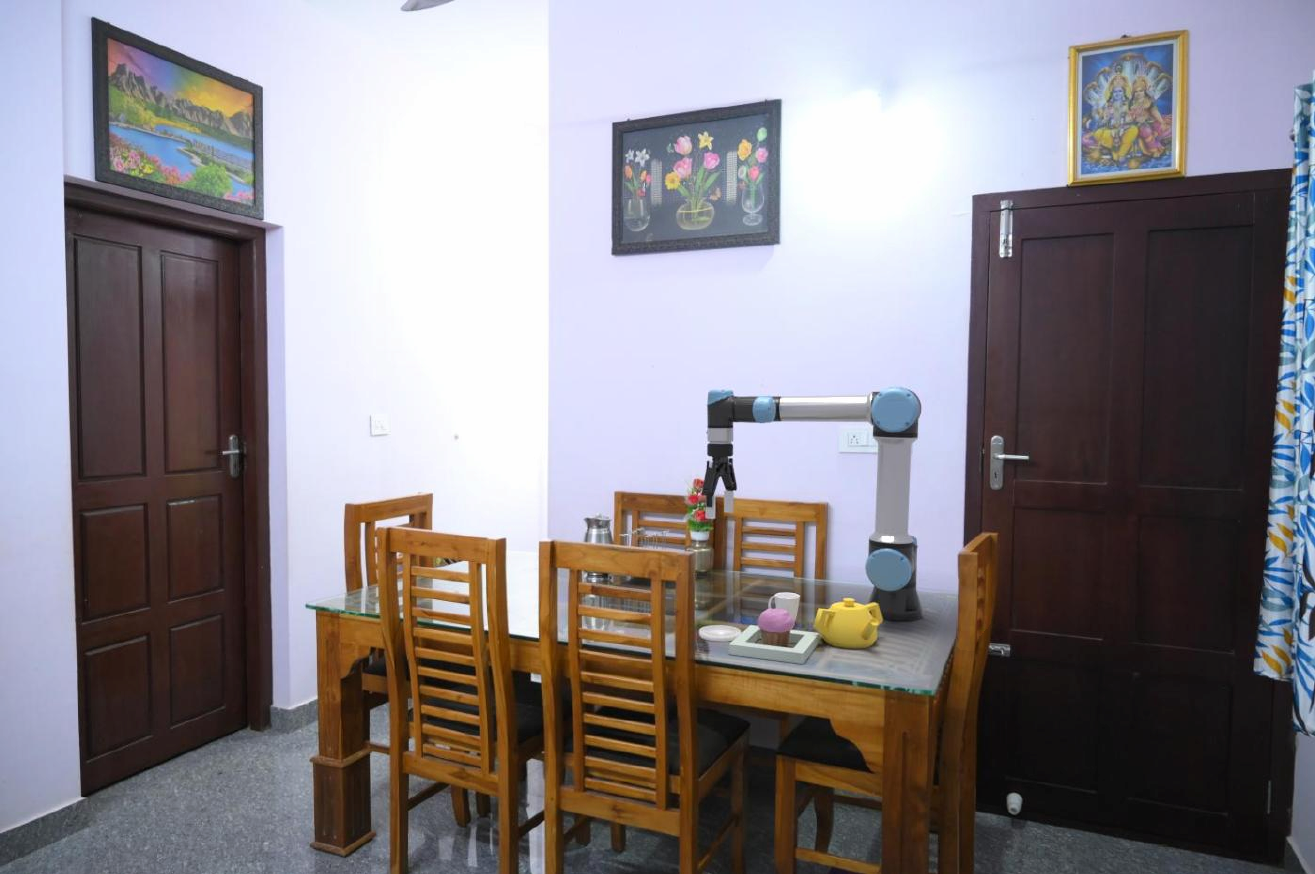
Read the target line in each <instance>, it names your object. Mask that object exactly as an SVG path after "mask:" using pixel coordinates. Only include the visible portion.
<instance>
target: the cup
mask: <svg viewBox="0 0 1315 874" xmlns="http://www.w3.org/2000/svg"><path fill="white" fill-rule="evenodd" d="M773 599H774V603H775V609H776V608H778V609H784V610H786V611H788V612H789V614H790V616H791V617H792V618H793V620H794V626H795V625H796V623H795V621H796V620H797V617H798V616H797V615H798V612H799V605H800V601H801V600H800V599H801V595H800V594H798V593H795V592H794V593H793V592H786V591H785V592H777V593H775V594H774V595H773V596H770V598H769V599H768V604H767V605H768V606H767V607H768V608H767V609H772V602H773Z"/></svg>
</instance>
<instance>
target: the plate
mask: <svg viewBox="0 0 1315 874" xmlns="http://www.w3.org/2000/svg"><path fill="white" fill-rule="evenodd" d="M741 633H742V630H741V629H740V628H739V627H736V626H731V625H724V624H714V625H706V626H702V627H700V628H699V629H698V637H699V638H701V639H703V640H706V641H710V642H716V643H717V642H718V643H719V642H720V643H723V642H724V643H727V642H732V641H733V640H734V639H735V638H737V637H738V636H739V635H740V634H741Z"/></svg>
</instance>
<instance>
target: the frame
mask: <svg viewBox="0 0 1315 874" xmlns="http://www.w3.org/2000/svg"><path fill="white" fill-rule="evenodd" d="M758 640H762V637H761V632H760V628H758V625H752V624H750V625H749V626H747V628H746V629H744V630H743V631H741V634H740V635H739V636H738V637H737V638H735V639H734V640H733V641H730V642H729V644H728V655H731V656H737V657H738V656H739V657H746V658H754V659H761V660H767V661H768V660H770V661H777V662H782V663H783V662H785V663H792V664H799V665H804V663H805V662H806V660H808V658H809V657H810V656H811V654H812V653H813V652H814V651H815V649H816V648H817V646H818V645H819V644H820V632H812V631H804V630H796V629H791V630H790V636H789V642H788V644H795V646H794V647H779V646H771V645H764V643H763V644H762V643H756V642H757V641H758Z"/></svg>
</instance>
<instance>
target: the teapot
mask: <svg viewBox="0 0 1315 874" xmlns="http://www.w3.org/2000/svg"><path fill="white" fill-rule="evenodd" d="M855 600H856V599H855V598H851V597H844V598H843V599H842V601H838V602H835V603H833V604H831V605H830V607H829V608H828V609H826V608H818V610H817V613H816V617H815V620H814V624H813V626H812V627H813V628H814V629H815V630H817V632H818V633H819V636H821V638H822V639H823V641H825V643H827V644H828V645H830V646H832V647H835V648H836V647H838V648H840V649H841V648H842V649H851V650H852V649H864V648H868V647H870V646H872V645H873V644H874V643H875V642H876V641H877V639H878V633H879V632H878V627H879V626H880V625H881V624H882V623H883V621H884V619H883V618H882V615H881V611H880V608H879V604H877V603H875V602H873V603H870V604H868V603H867V604H863V603H862V604H861V603H858V602H855ZM869 611H871V613H872V615H871V614H870V612H869Z"/></svg>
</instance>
